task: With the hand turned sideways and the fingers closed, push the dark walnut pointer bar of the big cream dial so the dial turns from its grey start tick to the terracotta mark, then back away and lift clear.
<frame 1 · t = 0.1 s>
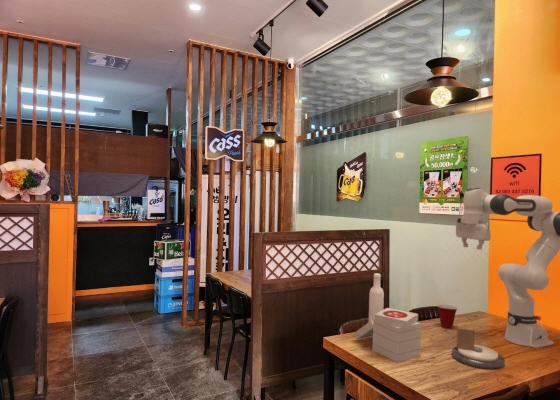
hand: (472, 248, 189), 48 cm above the table, tool pointing down, fingers open, 8 cm apart
plastic cup: (446, 327, 216), on the table
dial: (477, 342, 171), point 8 cm above the table, hinge at -35.0°
dial housing: (477, 359, 171), on the table
pizza boxes: (386, 349, 180), on the table
calculator: (401, 325, 218), on the table
bottle: (375, 328, 210), on the table
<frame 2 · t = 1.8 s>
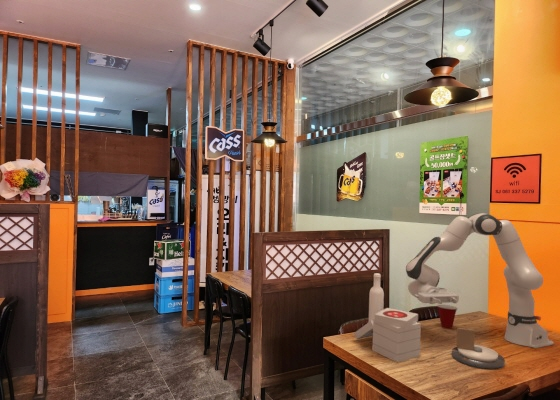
hand: (448, 301, 184), 22 cm above the table, tool horizontal, fingers open, 7 cm apart
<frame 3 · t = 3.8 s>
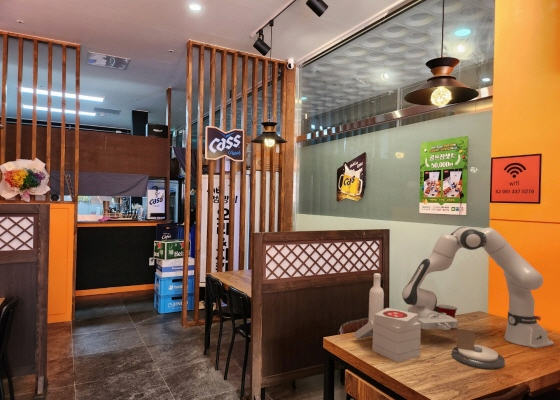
hand: (447, 328, 183), 10 cm above the table, tool horizontal, fingers closed
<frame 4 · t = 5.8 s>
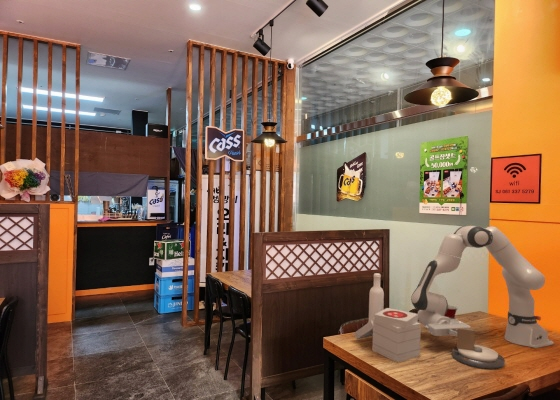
hand: (460, 335, 175), 9 cm above the table, tool horizontal, fingers closed
dial: (477, 342, 171), point 8 cm above the table, hinge at -32.6°, touching gripper
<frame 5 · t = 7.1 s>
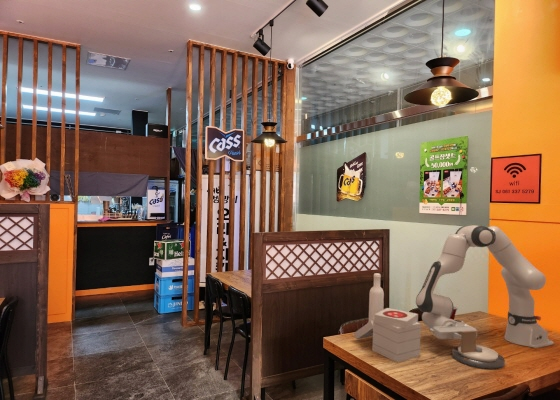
hand: (466, 338, 170), 9 cm above the table, tool horizontal, fingers closed
dial: (477, 342, 171), point 8 cm above the table, hinge at 1.0°, touching gripper
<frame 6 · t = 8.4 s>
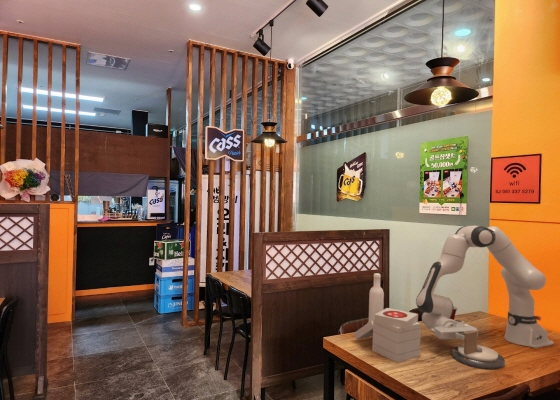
hand: (467, 338, 170), 10 cm above the table, tool horizontal, fingers closed
dial: (477, 342, 171), point 8 cm above the table, hinge at 14.0°
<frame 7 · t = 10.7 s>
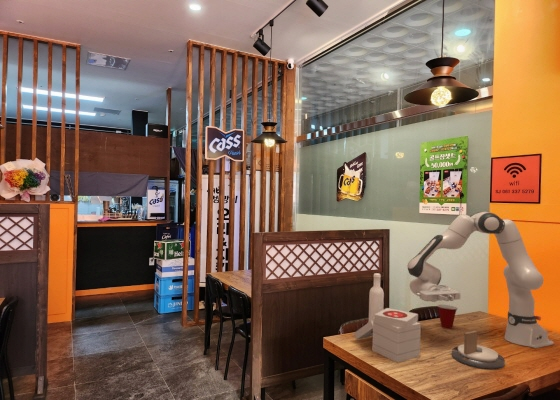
hand: (450, 299, 183), 24 cm above the table, tool horizontal, fingers closed
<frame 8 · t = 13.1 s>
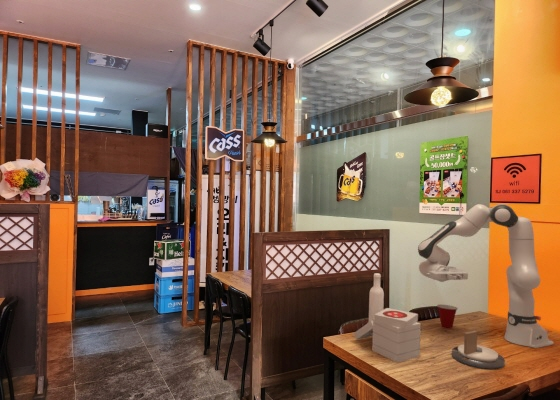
hand: (458, 278, 193), 32 cm above the table, tool horizontal, fingers closed
at the end: dial at +14° (first picture: -35°) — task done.
